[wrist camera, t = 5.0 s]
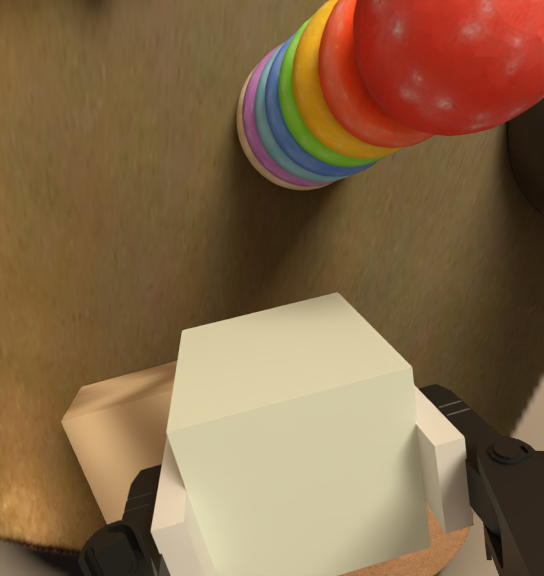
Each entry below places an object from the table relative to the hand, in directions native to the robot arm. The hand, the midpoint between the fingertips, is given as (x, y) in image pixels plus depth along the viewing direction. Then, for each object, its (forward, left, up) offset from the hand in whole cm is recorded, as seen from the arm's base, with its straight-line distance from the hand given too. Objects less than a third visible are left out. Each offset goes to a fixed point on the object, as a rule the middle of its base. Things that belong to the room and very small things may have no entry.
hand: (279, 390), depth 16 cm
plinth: (+7, +8, -12) cm, 16 cm away
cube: (0, 0, 0) cm, 1 cm away
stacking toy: (-6, -10, -12) cm, 17 cm away
